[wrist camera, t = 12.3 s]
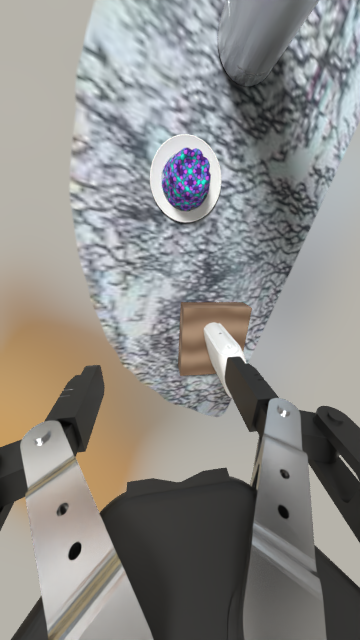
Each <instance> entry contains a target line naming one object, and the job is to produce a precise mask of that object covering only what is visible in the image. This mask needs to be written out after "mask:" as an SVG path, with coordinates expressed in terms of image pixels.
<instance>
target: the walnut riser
mask: <svg viewBox="0 0 360 640" xmlns="http://www.w3.org/2000/svg"><path fill="white" fill-rule="evenodd" d="M251 310H252V308H251V307H249V306H248V305H246V304H245V303H243V302H181V312H180V335H179V357H178V367H179V371H180V376H185V375H202V374H217V373H216V371H215V369H214V367H213V365H212V363H211V360H210V357H209V353H208V350H207V346H206V342H205V337H204V328H205V326H206V325H207V324H209V323H212V322H215V323H220V324H221V325H222V326H223V327H224V328H225V329H226V330H227V332H228V333H229V334H230V335H231V336H232V337H233V339H234V340H235V341H236V342H237V343H238V344H239V346H240V347H241V349H242V351H243V350H244V345H245V340H246V335H247V330H248V325H249V320H250V315H251Z"/></svg>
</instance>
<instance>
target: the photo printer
mask: <svg viewBox="0 0 360 640" xmlns="http://www.w3.org/2000/svg"><path fill="white" fill-rule="evenodd" d="M204 337H205V342H206V346H207V350H208V353H209V357H210V360H211V363H212V365H213V367H214V369H215V371H216V373H217V375H218V377H219V379H220V381H221V383H222V385H223V387H224V389H225V391H226V393H227V394H228V396H229V397H230V398H232V396H231V394H230V392H229V390H228V388H227V386H226V383H225V369H226V362H227V358H228V357H236V356H240V357H241V358H242V359H243V361H244V362H245V363H246V360H245V356H244V354H243V351H242V349H241V347H240V346H239V344H238V343H237V342H236V341H235V340H234V339H233V337H232V336H231V335H230V334H229V333H228V332H227V330H226V329H225V328H224V327H223V326H222V325H221V324H220V323H215V322H212V323H209V324H207V325H206V326H205V328H204ZM232 399H233V398H232Z"/></svg>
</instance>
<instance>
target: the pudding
mask: <svg viewBox="0 0 360 640" xmlns="http://www.w3.org/2000/svg"><path fill="white" fill-rule="evenodd" d="M176 153H177V154H176ZM174 154H175V155H174ZM173 155H174V157H173V158H172V159H171V160H170V161H168V159H169V158H170V157H171V156H173ZM167 161H168V162H167ZM166 162H167V164H166ZM165 164H166V165H165ZM164 165H165V167H164ZM163 168H164V175H165V178H164V179H163V181H162V185H161V176H162V171H163ZM150 183H151V189H152V193H153V196H154V198H155V201H156V203H157V204H158V206H159V207H160V209H161V210H162V211H163V212H164V213H165V214H166V215H167V216H169V217H170V218H172V219H174V220H176V221H179V222H193V221H197V220H199V219H201V218H203V217H204V216H205V215H207V214H208V213H209V212H210V211H211V210H212V208H213V207H214V205H215V203H216V201H217V199H218V196H219V193H220V188H221V170H220V166H219V162H218V160H217V157H216V155H215V153H214V152H213V150H212V149H211V148H210V146H209V145H208V144H207V143H206V142H204V141H203V140H202V139H200V138H198V137H196V136H193V135H188V134H185V135H177V136H174V137H172V138H170V139H168V140H167V141H166V142H165V143H163V144H162V146H161V147H160V148H159V149H158V151H157V153H156V154H155V156H154V159H153V162H152V165H151V171H150ZM209 186H210V187H209ZM162 188H163V190H164V192H165V193H167V194H168V201H169V202H170V203H169V202H168V201H167V199H166V198H165V196H164V193H163V190H162ZM208 191H209V192H208ZM207 193H208V195H207V197H206V199H205V200H204V202H203V199H204V195H206V194H207ZM202 202H203V203H202ZM171 204H172V205H173V206H179V207H180V208H181V210H184V211H181V210H178V209H176V208H174V207H173V206H172V205H171ZM192 206H193V207H198V206H199V207H198V208H196V209H194V210H191V211H187V210H190V209H191V208H192Z"/></svg>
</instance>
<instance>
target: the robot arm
mask: <svg viewBox="0 0 360 640" xmlns="http://www.w3.org/2000/svg"><path fill="white" fill-rule="evenodd" d="M318 1H319V0H226V1H225V5H224V8H223V11H222V15H221V19H220V23H219V30H218V48H219V54H220V58H221V61H222V64H223V67H224V69H225V71H226V72H227V74H228V75H229V76H230V78H231V79H232V80H233V81H235V82H236V83H237V84H240V85H243V86H253V85H256V84H258V83H260V82H261V81H263V80H264V79H265V78H266V77H267V76H268V74H269V73H270V71H271V70H272V68H273V67H274V66H275V64H276V63H277V61H278V60H279V58H280V57H281V55H282V54H283V52H284V51H285V50H286V48H287V47H288V45H289V44H290V43H291V41H292V40H293V38H294V37H295V35H296V34H297V32H298V31H299V29H300V28H301V26H302V25H303V23H304V22H305V21H306V19H307V18H308V16H309V15H310V13H311V12H312V10H313V9H314V7H315V6H316V4H317V3H318ZM225 383H226V386H227V388H228V390H229V392H230V394H231V396H232V398H233V400H234V402H235V404H236V406H237V408H238V410H239V412H240V414H241V416H242V418H243V420H244V422H245V424H246V426H247V428H248V430H249V432H253V431H257V432H258V434H259V439H258V445H257V450H256V456H255V462H254V468H253V473H252V478H251V482H250V485H249V484H247V483H245V482H244V481H242V480H239V479H237V478H234V477H230V476H229V474H228V471H227V468H221V469H213V470H208V471H202V472H200V473H198V474H196V475H194V476H193V477H190V478H188V479H186V480H184V481H182V482H171V481H165V480H159V479H154V478H153V479H145V480H139V481H132V482H127V491H126V492H125V493H123V494H121V495H119V496H118V497H116V498H115V499H114V500H112V501H111V502H110V503H109V504H108V505H107V506H106V507H105V508H104V509H103V510H102V511H101V512H100V513H99V511H98V509H97V506H96V504H95V502H94V500H93V497H92V495H91V492H90V490H89V488H88V485H87V483H86V481H85V478H84V476H83V474H82V471H81V469H80V467H79V464H78V462H77V460H76V458H75V456H76V454H77V452H84V451H86V448H87V445H88V442H89V439H90V435H91V433H92V429H93V426H94V423H95V420H96V417H97V414H98V411H99V408H100V405H101V402H102V398H103V395H104V382H103V376H102V372H101V367H100V365H93V366H86V367H85V368H84V370H83V372H82V374H81V375H76V376H75V377H73V378H72V379H71V380H70V381H69V382H68V383H67V385H66V387H65V388H64V391H62V393H61V395H60V397H59V398H58V400H57V401H56V403H55V405H54V406H53V408H52V410H51V412H50V413H49V415H48V416H47V418H46V419H45V421H44V422H42V423H40V424H38V425H37V426H35V427H33V428H32V429H31V430H30V431H29V432H27V433H26V435H25V436H24V437H23V439H22V440H19V441H16V442H14V443H11V444H8V445H5V446H3V447H0V530H1V528H2V526H3V524H4V522H5V520H6V518H7V516H8V514H9V512H10V510H11V508H12V505H13V503H14V501H16V500H19V499H21V498H23V497H25V498H26V505H27V511H28V516H29V522H30V529H31V534H32V540H33V546H34V552H35V558H36V564H37V570H38V576H39V582H40V588H41V594H42V596H41V597H40V598H39V600H38V601H37V603H36V604H35V606H34V607H33V609H32V610H31V611H30V613H29V614H28V616H27V617H26V619H25V620H24V621H23V623H22V624H21V626H20V627H19V629H18V630H17V632H16V633H15V634H14V636H13V637H12V639H11V640H360V588H359V587H358V586H357V585H356V584H355V583H354V582H353V581H352V580H351V579H350V578H349V577H348V576H347V575H346V574H345V573H344V572H342V570H341V569H339V568H338V567H337V566H336V565H335V564H334V563H333V562H332V561H330V559H329V558H328V557H327V556H326V555H325V554H324V553H322V552H321V551H320V550H319V549H318V548H317V547H316V546H315V545H314V536H313V522H312V508H311V495H310V482H309V468H308V463H309V465H310V466H311V468H312V469H313V471H314V472H315V474H316V476H317V477H318V479H319V480H320V482H321V483H322V485H323V486H324V488H325V489H326V491H327V492H328V494H329V496H330V497H331V499H332V500H333V502H334V503H335V505H336V506H337V508H338V510H339V511H340V513H341V514H342V515H343V517H344V519H345V521H346V522H347V524H348V525H349V527H350V528H351V530H352V531H353V533H354V534H355V536H356V538H357V539H358V541H359V542H360V482H359V481H360V428H359V427H358V426H357V425H356V424H355V423H354V422H353V421H352V420H351V419H350V418H349V417H348V416H347V415H345V414H344V413H342V412H341V411H339V410H337V409H335V408H332V407H329V406H321V407H319V408H318V409H317V411H316V413H313V412H306V411H301V410H298V409H297V407H296V406H295V405H293V404H292V403H291V402H289V401H287V400H285V399H281V398H279V397H278V396H277V395H276V393H275V392H274V391H273V390H272V388H271V387H270V386H269V385H268V383H267V382H266V381H265V380H264V378H263V377H262V376H261V375H260V373H259V372H258V371H257V370H256V369H255V368H254V367H253V366H251V365H250V364H246V363H245V362H244V361H243V359H242V358H241V357H240V356H236V357H228V358H227V362H226V369H225ZM339 455H341V456H342V457H343V458H344V460H345V461H346V462H347V463H348V464H349V465H350V467H351V468H352V469H353V471H354V472H355V473H356V475H357V476H358V479H359V481H358V480H357V479H356V477H355V476H354V475H353V474H352V472H351V471H350V470H349V468H348V467H347V466H346V465H345V463H344V462H343V461H342V460H341V458H339Z"/></svg>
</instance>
